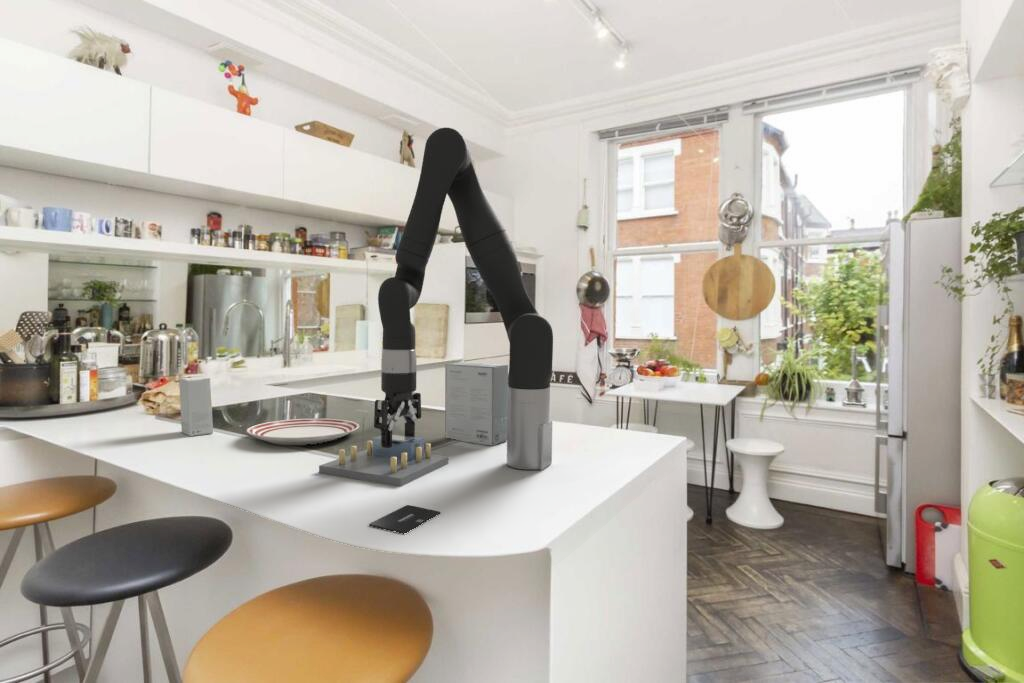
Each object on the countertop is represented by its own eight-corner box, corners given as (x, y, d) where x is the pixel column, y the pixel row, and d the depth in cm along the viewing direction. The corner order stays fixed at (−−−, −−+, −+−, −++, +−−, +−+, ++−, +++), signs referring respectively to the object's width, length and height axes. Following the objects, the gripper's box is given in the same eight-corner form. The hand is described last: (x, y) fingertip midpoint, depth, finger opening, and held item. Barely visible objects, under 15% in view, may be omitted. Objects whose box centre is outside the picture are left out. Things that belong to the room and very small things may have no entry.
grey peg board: (448, 463, 122) (448, 443, 122) (400, 486, 106) (401, 463, 105) (374, 453, 130) (374, 433, 130) (319, 472, 114) (319, 451, 113)
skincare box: (213, 433, 147) (212, 378, 146) (187, 437, 143) (187, 379, 142) (204, 428, 153) (203, 375, 152) (179, 431, 149) (178, 376, 148)
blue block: (424, 456, 122) (424, 437, 122) (411, 461, 118) (411, 442, 117) (386, 450, 126) (386, 433, 126) (372, 456, 122) (372, 437, 121)
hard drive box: (508, 441, 144) (509, 364, 143) (492, 447, 138) (493, 367, 137) (461, 433, 153) (462, 361, 152) (443, 438, 146) (444, 363, 145)
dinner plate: (284, 425, 160) (284, 414, 160) (374, 429, 157) (374, 418, 156) (222, 448, 133) (221, 434, 133) (329, 453, 129) (329, 439, 129)
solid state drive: (441, 515, 92) (441, 511, 92) (404, 537, 83) (404, 532, 83) (407, 508, 95) (407, 504, 95) (367, 528, 86) (367, 524, 86)
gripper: (393, 373, 113) (393, 452, 114) (431, 367, 126) (430, 438, 127) (364, 371, 116) (363, 448, 117) (403, 366, 129) (403, 435, 130)
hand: (398, 443), depth 122 cm, fingers open, 8 cm apart
